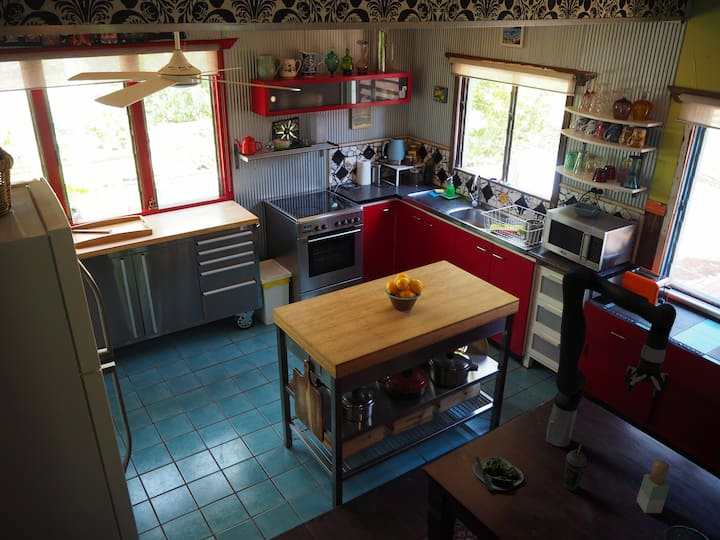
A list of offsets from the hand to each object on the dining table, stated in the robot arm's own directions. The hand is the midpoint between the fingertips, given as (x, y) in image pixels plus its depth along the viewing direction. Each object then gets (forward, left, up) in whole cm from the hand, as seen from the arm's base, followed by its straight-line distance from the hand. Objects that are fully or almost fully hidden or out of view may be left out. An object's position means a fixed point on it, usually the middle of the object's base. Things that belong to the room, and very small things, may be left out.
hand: (641, 394), depth 222 cm
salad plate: (-46, -23, -34) cm, 61 cm away
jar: (+7, -20, -21) cm, 30 cm away
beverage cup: (-20, -19, -33) cm, 43 cm away
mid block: (+7, -20, -27) cm, 34 cm away
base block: (+7, -20, -33) cm, 39 cm away
